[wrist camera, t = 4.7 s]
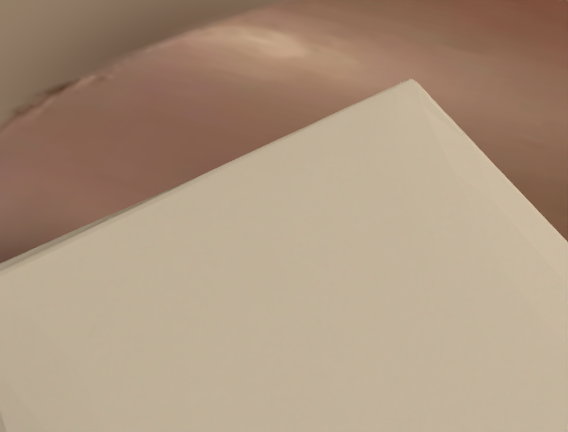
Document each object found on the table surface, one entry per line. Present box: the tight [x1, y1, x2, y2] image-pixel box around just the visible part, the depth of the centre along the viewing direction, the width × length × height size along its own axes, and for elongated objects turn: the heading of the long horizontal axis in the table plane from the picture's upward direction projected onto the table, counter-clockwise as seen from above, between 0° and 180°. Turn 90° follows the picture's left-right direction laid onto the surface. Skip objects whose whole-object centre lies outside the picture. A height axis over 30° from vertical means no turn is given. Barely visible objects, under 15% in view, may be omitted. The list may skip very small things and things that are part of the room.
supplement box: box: [0, 79, 568, 432], centre depth 10 cm, size 7×7×13 cm
